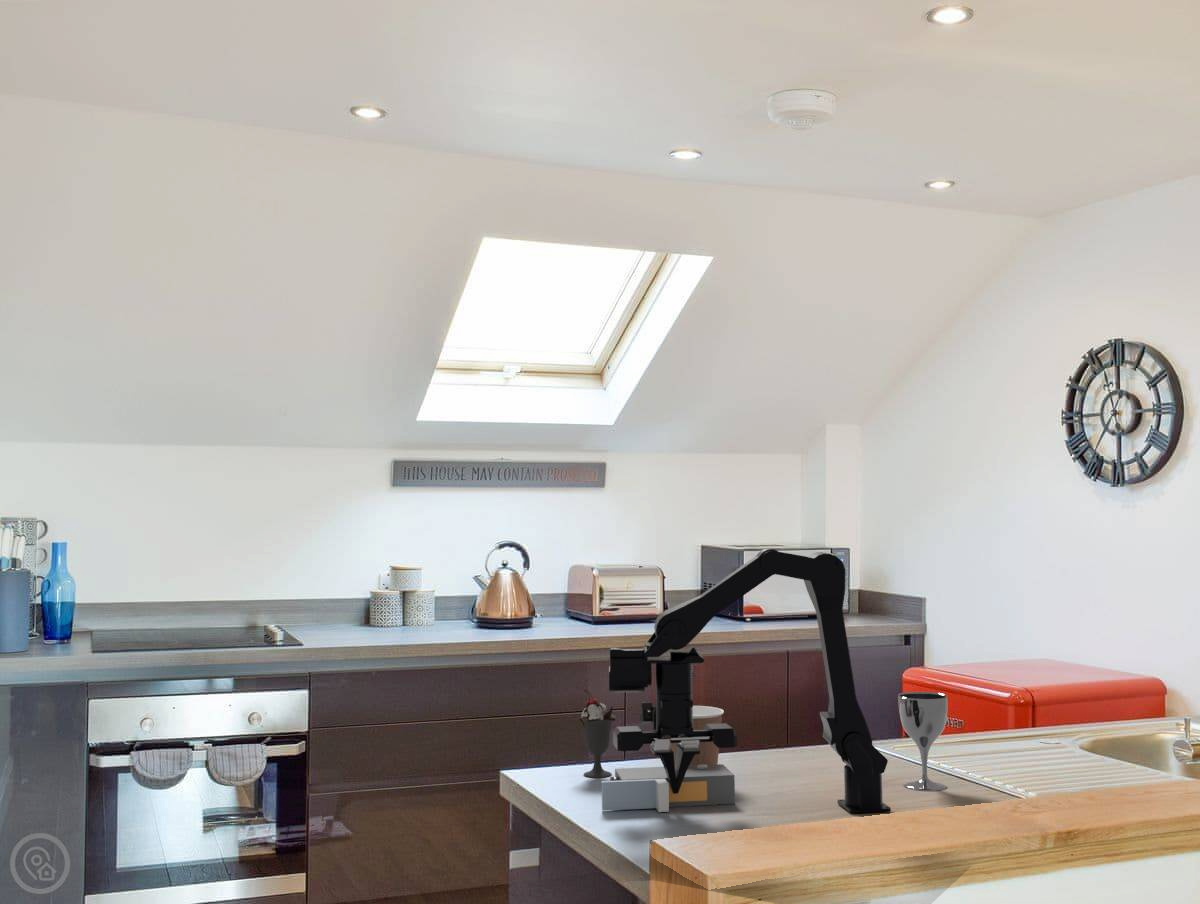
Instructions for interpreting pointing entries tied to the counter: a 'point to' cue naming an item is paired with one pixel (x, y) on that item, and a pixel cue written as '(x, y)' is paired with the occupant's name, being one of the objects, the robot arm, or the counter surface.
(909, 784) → the wine glass
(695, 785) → the sliding door box
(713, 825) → the counter surface
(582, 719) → the sundae
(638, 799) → the side door
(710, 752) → the coffee cup
